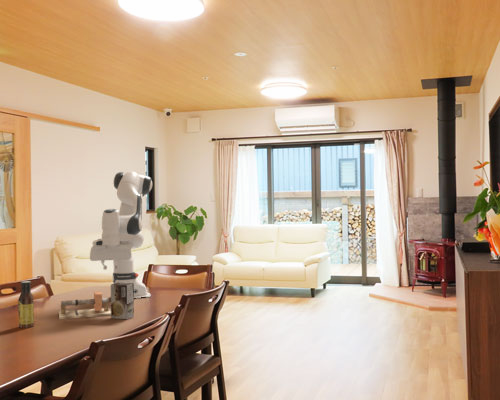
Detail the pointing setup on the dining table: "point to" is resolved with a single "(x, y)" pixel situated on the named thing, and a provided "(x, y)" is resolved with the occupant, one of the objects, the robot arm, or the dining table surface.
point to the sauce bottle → (25, 306)
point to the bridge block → (98, 301)
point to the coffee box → (122, 300)
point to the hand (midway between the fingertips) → (110, 269)
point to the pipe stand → (83, 313)
